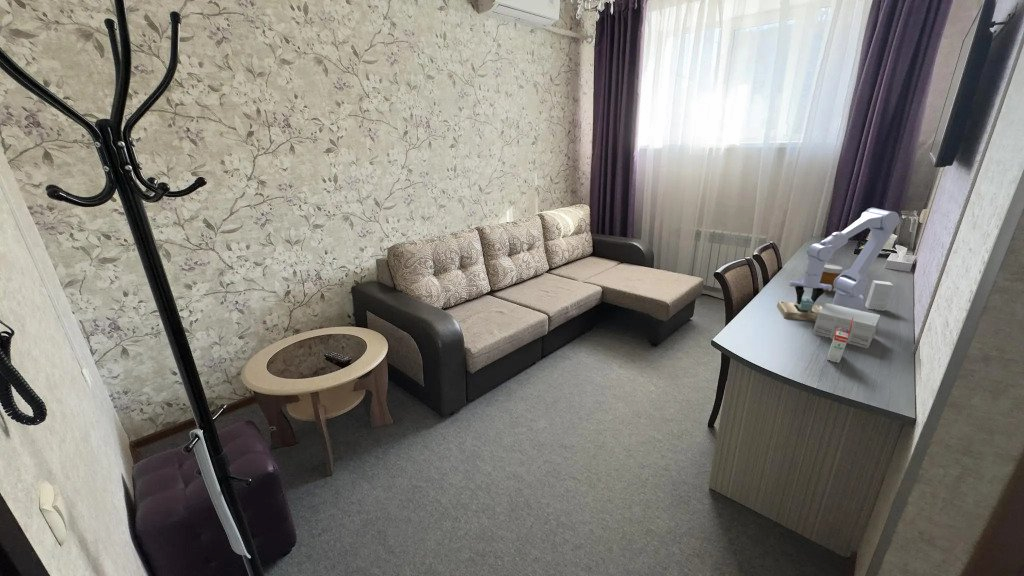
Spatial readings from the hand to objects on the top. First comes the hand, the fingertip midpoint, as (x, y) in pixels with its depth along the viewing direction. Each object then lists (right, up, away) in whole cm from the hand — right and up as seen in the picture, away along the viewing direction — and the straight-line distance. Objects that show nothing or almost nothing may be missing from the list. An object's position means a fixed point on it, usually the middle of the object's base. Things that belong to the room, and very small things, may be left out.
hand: (804, 304), depth 172 cm
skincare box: (+36, -2, +8) cm, 37 cm away
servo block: (0, -2, +1) cm, 2 cm away
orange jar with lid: (+30, +6, +29) cm, 42 cm away
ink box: (-12, -17, -31) cm, 37 cm away
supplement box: (+3, -12, -15) cm, 20 cm away
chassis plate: (0, -4, +2) cm, 5 cm away
